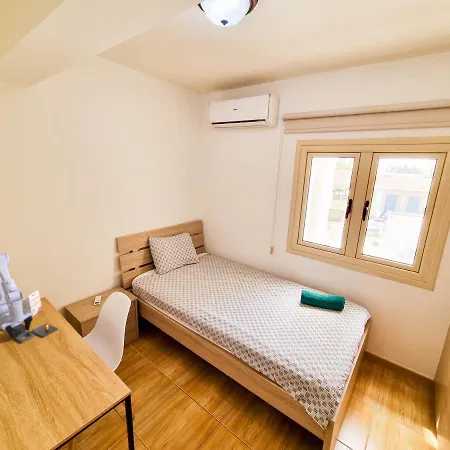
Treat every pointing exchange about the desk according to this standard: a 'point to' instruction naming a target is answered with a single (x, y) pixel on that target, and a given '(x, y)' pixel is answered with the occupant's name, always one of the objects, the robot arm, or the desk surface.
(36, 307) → the ink cartridge box
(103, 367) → the desk surface
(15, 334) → the link
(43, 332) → the frame
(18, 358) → the desk surface
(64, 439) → the desk surface
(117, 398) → the desk surface
